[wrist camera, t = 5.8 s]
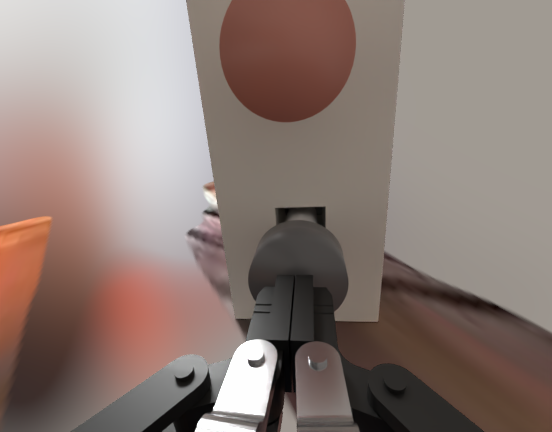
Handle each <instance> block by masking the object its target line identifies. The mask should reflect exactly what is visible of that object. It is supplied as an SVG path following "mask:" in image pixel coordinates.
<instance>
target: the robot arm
mask: <svg viewBox="0 0 552 432" xmlns="http://www.w3.org/2000/svg"><path fill="white" fill-rule="evenodd" d="M292 380H293V389H294V392H296V401H297V432H484V431H483V430H482V429H480V428H479V427H478V426H477V425H475V424H474V423H473V422H472V421H470V420H469V419H468V418H467V417H465V416H464V415H463V414H462V413H460V412H459V411H458V410H457V409H455V408H454V407H453V406H452V405H451V404H449V403H448V402H447V401H446V400H444V399H443V398H442V397H441V396H439V395H438V394H437V393H436V392H434V391H433V390H432V389H431V388H429V387H428V386H427V385H426V384H424V383H423V382H422V381H421V380H420V379H418V378H417V377H416V376H415V375H413V374H412V373H411V372H409V371H408V370H407V369H405V368H403V367H401V366H398V365H395V364H380V365H377V366H376V367H374V368H373V369H372V370H371V371H370V370H367V369H364V368H361V367H358V366H355V365H353V364H352V363H350V362H349V361H347V360H346V359H345V358H344V357H343V356H342V355H341V353H340V351H339V349H338V345H337V336H336V326H335V317H334V307H333V298H332V294H331V293H330V292H329V290H328V289H327V288H326V287H313V275H296V278H295V275H277V278H276V284H275V287H264V288H263V289H262V290H261V291H260V293H259V294H258V295H257V299H256V303H255V307H254V311H253V315H252V318H251V322H250V326H249V330H248V334H247V337H246V341H245V343H244V344H242V345H241V346H240V347H239V348H238V349H237V350H236V352H235V354H234V356H233V357H232V358H230V359H228V360H225V361H222V362H217V363H213V364H209V365H208V364H207V362H206V360H205V359H204V358H203V357H201V356H198V355H186V356H182V357H179V358H178V359H176V360H174V361H173V362H171V363H170V364H168V365H167V366H165V367H164V368H162V369H161V370H160V371H158V372H157V373H155V374H154V375H152V376H151V377H149V378H148V379H146V380H145V381H144V382H142V383H141V384H139V385H138V386H136V387H135V388H134V389H132V390H130V391H129V392H128V393H126V394H125V395H123V396H122V397H121V398H119V399H117V400H116V401H115V402H113V403H112V404H110V405H109V406H107V407H106V408H104V409H103V410H102V411H100V412H99V413H97V414H96V415H94V416H93V417H91V418H90V419H88V420H87V421H86V422H84V423H83V424H81V425H80V426H78V427H77V428H75V429H74V430H72V431H71V432H280V429H281V423H282V414H283V413H282V410H283V405H284V394H285V392H292Z"/></svg>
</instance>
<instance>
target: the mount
mask: <svg viewBox="0 0 552 432" xmlns="http://www.w3.org/2000/svg"><path fill="white" fill-rule="evenodd" d="M231 1H232V0H186V2H187V9H188V15H189V22H190V29H191V35H192V42H193V48H194V54H195V61H196V68H197V74H198V80H199V86H200V93H201V100H202V107H203V112H204V119H205V126H206V132H207V139H208V146H209V152H210V158H211V165H212V172H213V177H214V185H215V191H216V198H217V204H218V211H219V217H220V224H221V230H222V237H223V243H224V250H225V256H226V263H227V269H228V276H229V282H230V289H231V295H232V302H233V308H234V315H235V319H251V318H252V315H253V311H254V307H255V303H256V301H255V300H254V299H253V297H252V295H251V292H250V289H249V285H248V273H249V269H250V266H251V263H252V260H253V257H254V254H255V252H256V249H257V246H258V243H259V241H260V240H261V238H262V236H263V235H264V234H265V233H266V232H267V231H268V230H269V229H271V228H272V227H274V226H276V225H278V224H280V223H283V222H286V218H287V213H288V209H289V207H315V209H316V213H317V224H319V225H321V226H323V227H325V228H326V229H328V230H329V231H330V232H331V233H332V234H333V235H334V236H335V237H336V238H337V240H338V241H339V243H340V245H341V248H342V251H343V255H344V260H345V265H346V270H347V275H348V283H349V285H348V292H347V295H346V297H345V300H344V301H343V303H342V304H341V306H340V307H339V308H338V309H337V310H336V311H335V312H334V317H335V321H359V322H378V319H379V307H380V294H381V282H382V270H383V258H384V246H385V233H386V221H387V208H388V197H389V184H390V173H391V160H392V148H393V136H394V124H395V123H394V122H395V112H396V99H397V87H398V75H399V63H400V51H401V38H402V27H403V14H404V2H405V0H345V1H346V2H347V4H348V6H349V9H350V11H351V14H352V17H353V21H354V26H355V32H356V51H355V58H354V63H353V67H352V70H351V73H350V76H349V78H348V80H347V82H346V84H345V86H344V87H343V89H342V91H341V92H340V93H339V95H338V96H337V97H336V98H335V100H334V101H333V102H332V103H331V104H330V105H329V106H327V107H326V108H325V109H324V110H322V111H321V112H319V113H317V114H316V115H314V116H312V117H309V118H307V119H304V120H300V121H296V122H276V121H271V120H268V119H265V118H262V117H260V116H258V115H256V114H255V113H253V112H251V111H250V110H249V109H247V108H246V107H245V106H244V105H243V104H242V103H241V102H240V101H239V100H238V99H237V97H236V96H235V95H234V93H233V92H232V90H231V89H230V87H229V85H228V83H227V81H226V78H225V76H224V73H223V69H222V66H221V60H220V50H219V43H220V32H221V26H222V23H223V19H224V16H225V14H226V11H227V9H228V7H229V5H230V3H231Z"/></svg>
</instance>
